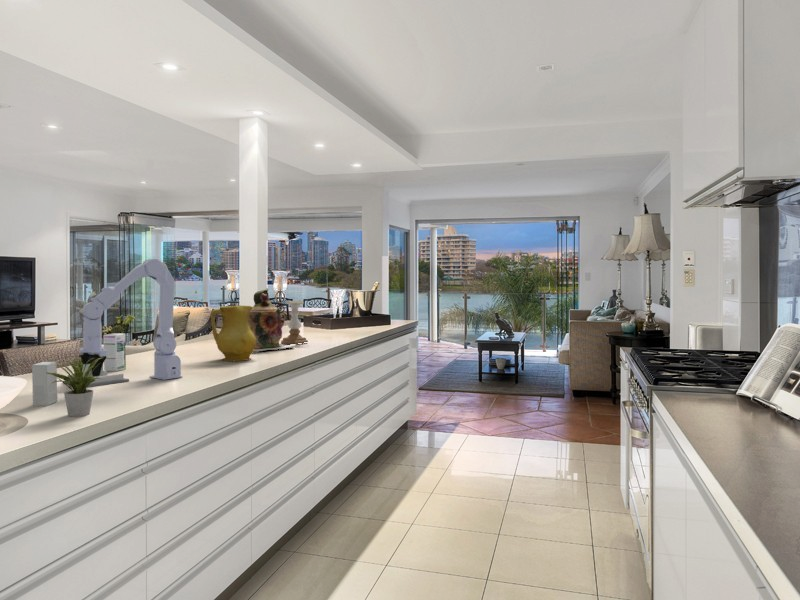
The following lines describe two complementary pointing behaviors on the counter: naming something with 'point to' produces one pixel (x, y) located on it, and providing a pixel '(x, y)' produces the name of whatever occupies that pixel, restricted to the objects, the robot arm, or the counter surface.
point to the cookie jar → (266, 323)
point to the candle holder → (294, 325)
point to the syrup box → (115, 352)
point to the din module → (91, 370)
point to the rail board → (106, 379)
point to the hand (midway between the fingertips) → (92, 375)
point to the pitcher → (234, 333)
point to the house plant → (78, 388)
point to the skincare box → (44, 383)
